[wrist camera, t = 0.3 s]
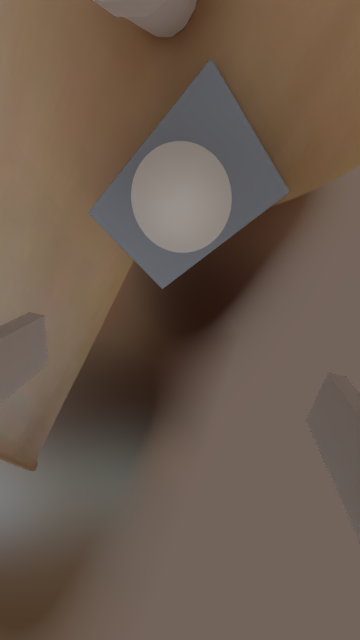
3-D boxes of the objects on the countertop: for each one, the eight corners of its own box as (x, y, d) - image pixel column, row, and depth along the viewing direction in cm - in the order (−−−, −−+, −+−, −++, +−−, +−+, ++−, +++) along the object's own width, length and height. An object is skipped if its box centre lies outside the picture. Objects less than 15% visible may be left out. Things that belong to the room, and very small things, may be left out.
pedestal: (212, 66, 24) (211, 57, 21) (284, 187, 29) (290, 192, 26) (97, 207, 34) (86, 213, 31) (166, 279, 39) (161, 289, 36)
